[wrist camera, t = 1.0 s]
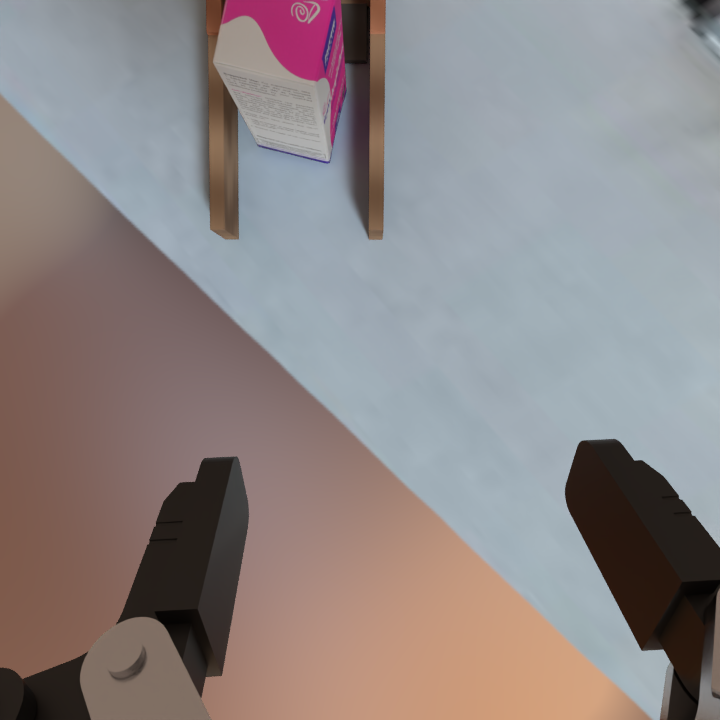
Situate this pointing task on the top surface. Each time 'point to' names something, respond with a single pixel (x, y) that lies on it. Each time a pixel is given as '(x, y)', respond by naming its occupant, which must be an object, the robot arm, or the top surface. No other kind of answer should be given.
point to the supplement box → (285, 71)
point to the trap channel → (226, 115)
